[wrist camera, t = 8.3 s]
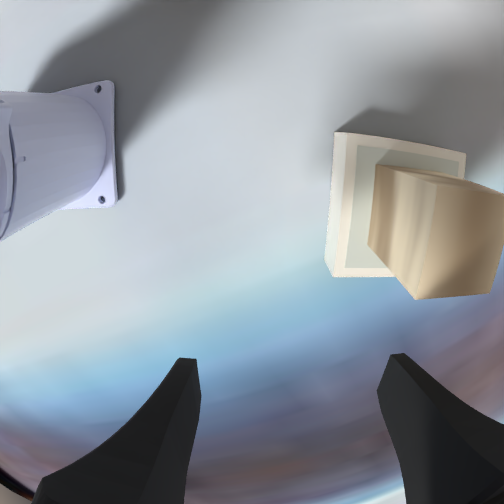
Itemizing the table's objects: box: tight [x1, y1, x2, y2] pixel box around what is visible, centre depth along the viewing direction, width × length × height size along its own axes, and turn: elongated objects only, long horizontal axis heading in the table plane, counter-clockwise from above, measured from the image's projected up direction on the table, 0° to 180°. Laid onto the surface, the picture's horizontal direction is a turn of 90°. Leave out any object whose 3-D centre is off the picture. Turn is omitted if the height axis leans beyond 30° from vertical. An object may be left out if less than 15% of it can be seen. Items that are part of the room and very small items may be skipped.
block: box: [367, 164, 504, 300], centre depth 13 cm, size 4×4×6 cm
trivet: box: [324, 132, 466, 277], centre depth 17 cm, size 8×8×3 cm
